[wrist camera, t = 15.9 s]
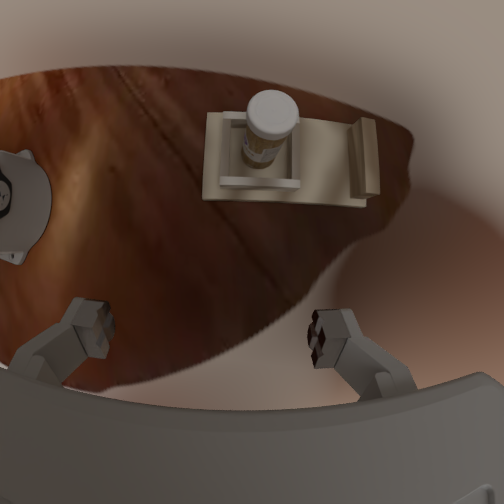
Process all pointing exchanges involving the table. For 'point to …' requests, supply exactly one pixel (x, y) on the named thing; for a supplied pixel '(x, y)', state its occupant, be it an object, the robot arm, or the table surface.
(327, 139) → the caddy
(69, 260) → the table surface
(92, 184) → the table surface
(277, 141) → the sprinkles bottle
